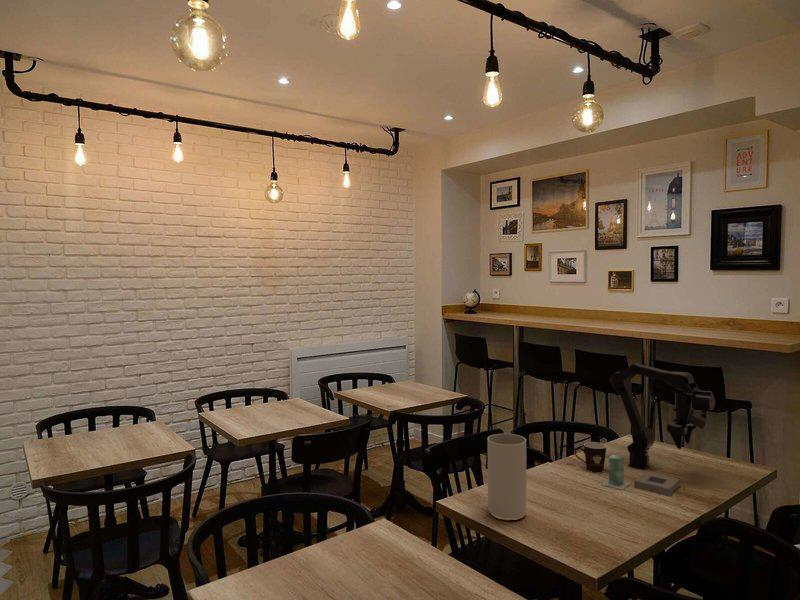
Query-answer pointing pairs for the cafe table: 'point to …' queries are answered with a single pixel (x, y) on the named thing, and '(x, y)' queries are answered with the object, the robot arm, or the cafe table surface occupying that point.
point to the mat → (615, 485)
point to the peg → (616, 470)
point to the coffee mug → (594, 456)
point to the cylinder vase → (507, 475)
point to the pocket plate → (657, 483)
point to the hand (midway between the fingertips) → (683, 446)
